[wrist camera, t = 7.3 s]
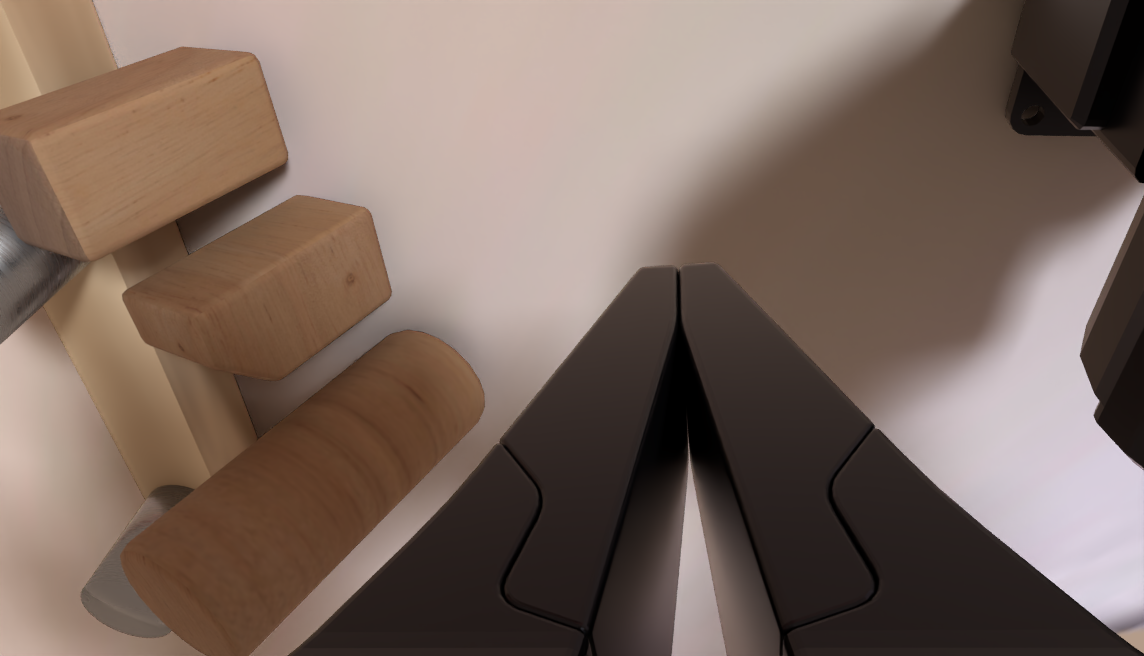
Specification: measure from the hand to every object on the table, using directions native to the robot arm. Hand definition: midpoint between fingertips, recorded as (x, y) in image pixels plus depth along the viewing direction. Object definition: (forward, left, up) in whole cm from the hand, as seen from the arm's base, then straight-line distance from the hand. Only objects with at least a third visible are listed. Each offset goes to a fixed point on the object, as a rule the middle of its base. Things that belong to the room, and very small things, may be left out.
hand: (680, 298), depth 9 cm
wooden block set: (+11, +10, -13) cm, 20 cm away
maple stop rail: (+17, +11, -13) cm, 24 cm away
